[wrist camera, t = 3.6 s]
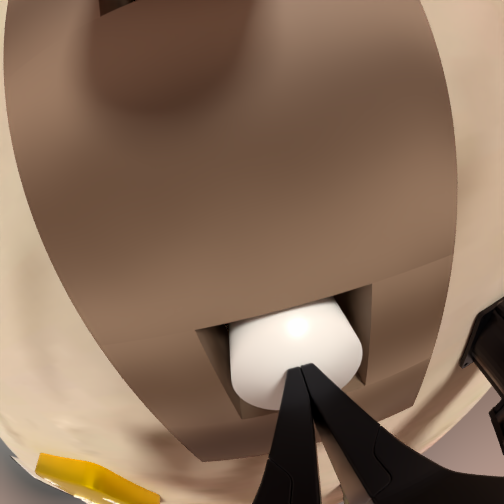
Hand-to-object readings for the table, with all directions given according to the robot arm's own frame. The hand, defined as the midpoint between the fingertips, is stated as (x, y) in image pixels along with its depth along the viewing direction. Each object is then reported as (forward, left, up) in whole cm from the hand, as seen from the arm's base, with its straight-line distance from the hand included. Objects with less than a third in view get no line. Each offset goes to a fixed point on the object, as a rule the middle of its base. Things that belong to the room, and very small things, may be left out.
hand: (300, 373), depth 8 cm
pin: (0, 0, -4) cm, 4 cm away
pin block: (+7, 0, -4) cm, 8 cm away
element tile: (-27, +31, -5) cm, 41 cm away
